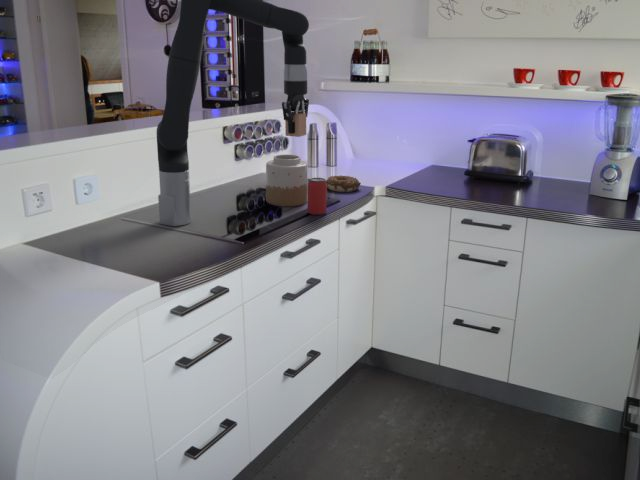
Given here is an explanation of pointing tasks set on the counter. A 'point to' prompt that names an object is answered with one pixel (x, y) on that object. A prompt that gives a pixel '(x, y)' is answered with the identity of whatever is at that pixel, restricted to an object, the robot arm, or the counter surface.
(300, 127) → the block
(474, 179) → the counter surface
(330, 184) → the donut
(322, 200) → the beer can
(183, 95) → the robot arm
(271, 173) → the vase
